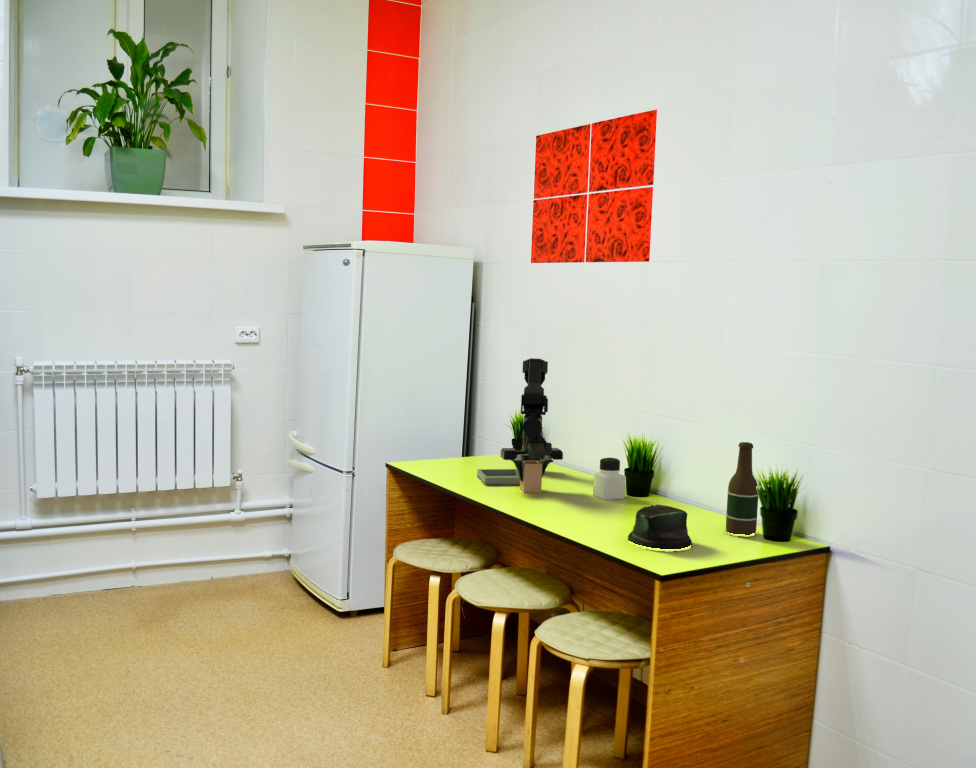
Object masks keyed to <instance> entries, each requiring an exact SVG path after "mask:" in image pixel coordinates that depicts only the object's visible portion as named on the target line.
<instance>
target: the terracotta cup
mask: <svg viewBox="0 0 976 768" xmlns="http://www.w3.org/2000/svg"><path fill="white" fill-rule="evenodd" d="M522 469H523V481H522V482H521V480H520V485H519V490H520V491H521V492H522V493H524V494H530V493H532V494H536V493H537V494H540V493H542V482H543V477H542V463H540V462H539V461H523V464H522Z"/></svg>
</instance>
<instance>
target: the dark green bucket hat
mask: <svg viewBox="0 0 976 768" xmlns="http://www.w3.org/2000/svg"><path fill="white" fill-rule="evenodd" d="M687 520H688V513H687V511H686V510H684V509H681V508H678V507H673V506H669V505H663V504H655V505H654V504H650V505H649V506H643V507H641V508H640V509H638V510H637V511H636V512H635V521H634V525H633V526H632V528H633V529H632V530H631V531H630V532H631V533H630V532H629V533H630V534H629V535H628V536H627V537H628V538H627V541H628V540H629V541H631V542H633V543H635V544H638V545H642V546H646V547H651V548H660V549H681V548H685V547H688V546H690V545H692V546H693V541H692V538H691V537H690V535H689V534H688V533H689V532H688V531H689V530H688V526H687V523H688V522H687Z"/></svg>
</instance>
